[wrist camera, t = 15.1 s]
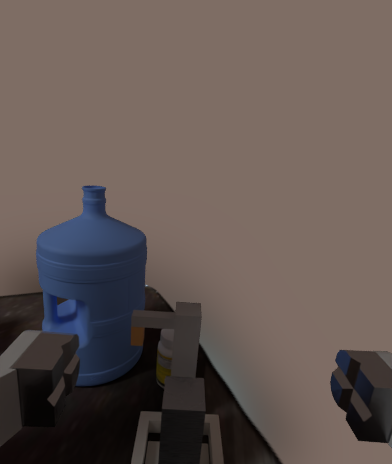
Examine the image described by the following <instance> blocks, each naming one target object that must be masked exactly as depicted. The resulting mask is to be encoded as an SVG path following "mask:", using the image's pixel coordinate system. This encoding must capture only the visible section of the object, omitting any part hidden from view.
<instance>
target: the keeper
mask: <svg viewBox="0 0 392 464" xmlns="http://www.w3.org/2000/svg"><path fill="white" fill-rule="evenodd" d="M200 327H201V304H200V303H186V302H176V313H175V312H160V311H144V310H133V313H132V316H131V345H132V346H142V345H143V341H144V329H145V328H162V329H174V340H173V353H172V367H171V376H175V377H193V378H195V376H196V366H197V356H198V346H199V337H200ZM161 415H162V412H150V411H141V413H140V418H139V424H138V429H137V434H136V440H135V445H134V450H133V455H132V461H131V464H144V459H145V453H146V446H147V439H148V433H160V430H161ZM203 435H208V438H209V450H208V444H202V447H201V455H200V464H209V454H210V464H224V460H223V451H222V442H221V433H220V424H219V415H211V414H205V421H204V430H203ZM159 445H160V442H158V441H148V446H147V453H146V460H145V464H158V460H159Z"/></svg>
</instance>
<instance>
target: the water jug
mask: <svg viewBox="0 0 392 464" xmlns="http://www.w3.org/2000/svg"><path fill="white" fill-rule="evenodd" d="M82 189H83V191H84V197H83V213H82V214H81V215H80V216H78V217H76V218H73V219H71V220H69V221H66V222H64V223H62V224H59V225H57V226H54V227H52V228H50V229H48V230H45V231H44V232H42V233H41V234H40V235H39V236H38V238H37V250H36V258H37V259H36V260H37V267H38V271H39V284H40V286H41V288H42V289H43V299H44V314H45V318H44V320H43V324H42V331H43V332H44V331H49V332H61V333H73V334H77V335H78V336H79V348H78V349H77V351H76V354H77V356H78V357H79V358H80V368H79V375H78V379H77V382H76V385H75V386H95V385H100V384H104V383H107V382H110V381H113V380H115V379H117V378H119V377H121V376H123V375H124V374H126V373H127V372H128V371H129V370H131V369H132V368H133V367H134V366H135V364H136V363H137V362H138V360H139V359H140V357H141V354H142V351H143V345H142V346H132V345H131V316H132V313H133V310H144V307H145V292H144V289H145V265H146V260H147V247H146V236H145V234H144V233H143V232H141V231H140V230H139V229H137V228H134V227H132V226H130V225H127V224H125V223H123V222H121V221H119V220H116V219H114V218H112V217H110V216H108V215H107V214H106V211H105V203H106V199H105V190H106V188H105V187H102V186H83V187H82ZM57 297H60V298H65V299H69V300H67V301H65V302H63V303H61V304H59V305H58V306H57Z"/></svg>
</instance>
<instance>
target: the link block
mask: <svg viewBox="0 0 392 464" xmlns="http://www.w3.org/2000/svg"><path fill="white" fill-rule="evenodd" d="M205 413H206V408H205V389H204V378H193V377H175V376H166V378H165V386H164V395H163V404H162V415H161V430H160V445H159V460H158V464H200V455H201V447H202V438H203V430H204V421H205Z"/></svg>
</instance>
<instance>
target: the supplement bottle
mask: <svg viewBox="0 0 392 464" xmlns="http://www.w3.org/2000/svg"><path fill="white" fill-rule="evenodd" d="M173 340H174V329H162V331H161V337H160V341H159V343H158V350H157V372H156V380H157V383H158V384H159V385H160V386H161V387H162V388H164V386H165V378H166V376H171V367H172V353H173Z"/></svg>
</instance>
